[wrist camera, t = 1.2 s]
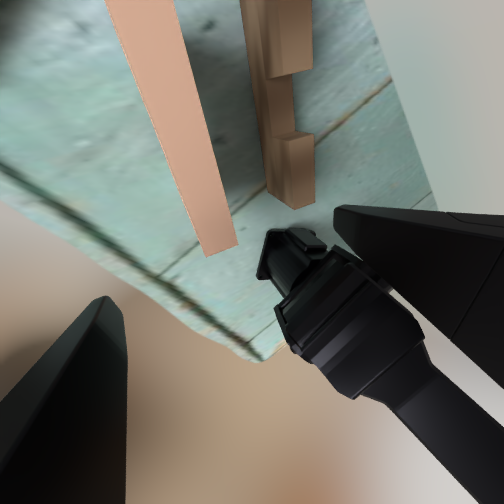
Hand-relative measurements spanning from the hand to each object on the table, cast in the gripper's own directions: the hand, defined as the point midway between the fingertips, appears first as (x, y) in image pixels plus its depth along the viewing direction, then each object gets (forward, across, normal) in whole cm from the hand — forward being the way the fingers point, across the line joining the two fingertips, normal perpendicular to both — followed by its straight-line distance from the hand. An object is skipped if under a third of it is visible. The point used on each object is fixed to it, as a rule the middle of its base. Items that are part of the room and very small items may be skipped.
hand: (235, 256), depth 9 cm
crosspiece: (+13, 0, -3) cm, 13 cm away
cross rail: (+13, -8, -3) cm, 16 cm away
